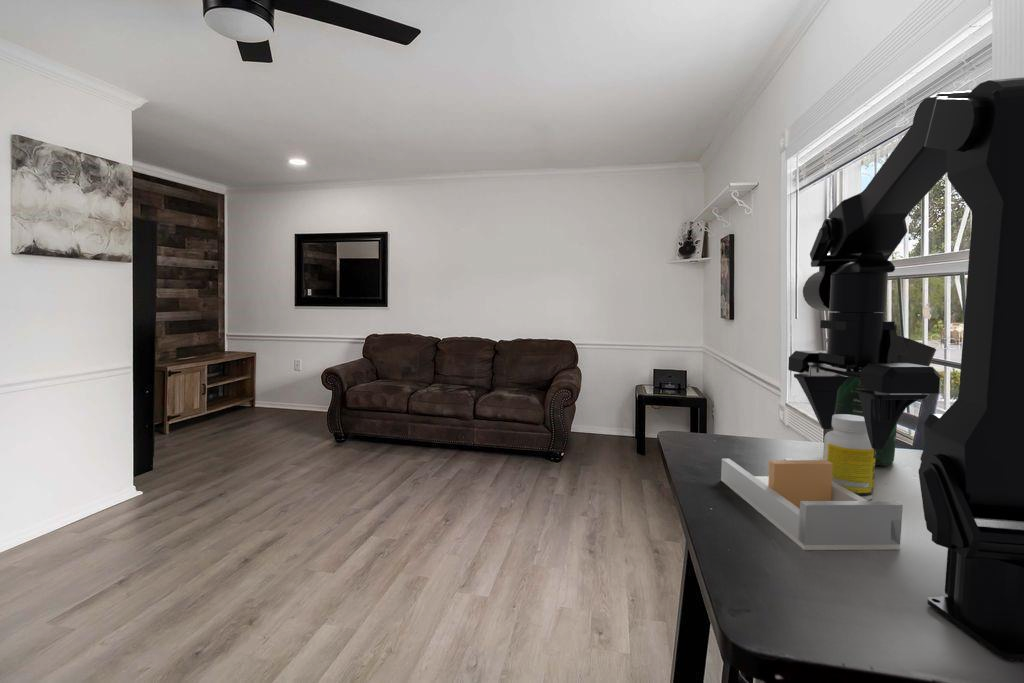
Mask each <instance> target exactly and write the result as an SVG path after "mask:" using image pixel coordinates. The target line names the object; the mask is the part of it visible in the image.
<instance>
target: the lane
mask: <svg viewBox="0 0 1024 683" xmlns="http://www.w3.org/2000/svg"><path fill="white" fill-rule="evenodd" d="M783 460H794V458H791V457H789V458H788V457H784V458H783ZM720 474H721V475H720V476H721V477H720V480H721V482H723V483H724V484H725V485H726V486H727V487H728V488H729V489H731V490H732V491H733V492H734V493H735V494H737V495H738V496H739V497H740V498H742V499H743V500H744V501H745V502H747V503H748V504H749V505H750V506H752V508H753V509H755V511H756V512H758V513H759V514H761V515H762V516H763V517H764V518H765V519H766V520H768V522H770V523H771V524H773V525H774V527H776V528H777V529H778V530H780V531H781V532H782V533H783V534H784V535H785V536H787V537H788V538H789V539H791V541H792V542H793V543H795V544H796V545H797V546H799V548H801V549H802V550H803V551H837V550H838V551H851V550H853V551H854V550H855V551H860V550H861V551H865V550H867V551H868V550H869V551H872V550H873V551H875V550H878V551H879V550H882V551H883V550H886V551H887V550H890V551H891V550H901V539H902V537H901V535H902V522H903V505H904V504H903V503H900V502H898V501H896V500H868V501H867V500H865V499H864V498H862V497H860V496H858V495H856V494H855V493H853V492H851V491H849V490H847V489H846V488H844V487H842V486H840V485H838V484H837V483H835V482H833V481H832V489H831V501H800V506H795V505H794V504H792V503H791V502H789V501H788V500H787V499H785V498H784V497H782V496H781V495H780V494H778V493H777V492H775V491H774V490H773V489H771V488H770V487H768V481H769V475H765V476H764V475H763V476H755V475H753V474H752V473H750V472H749V471H748V470H745V468H743V467H742V466H740V465H739V464H738V463H736V462H735V461H734V460H732V459H730V458H721V472H720Z"/></svg>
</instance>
